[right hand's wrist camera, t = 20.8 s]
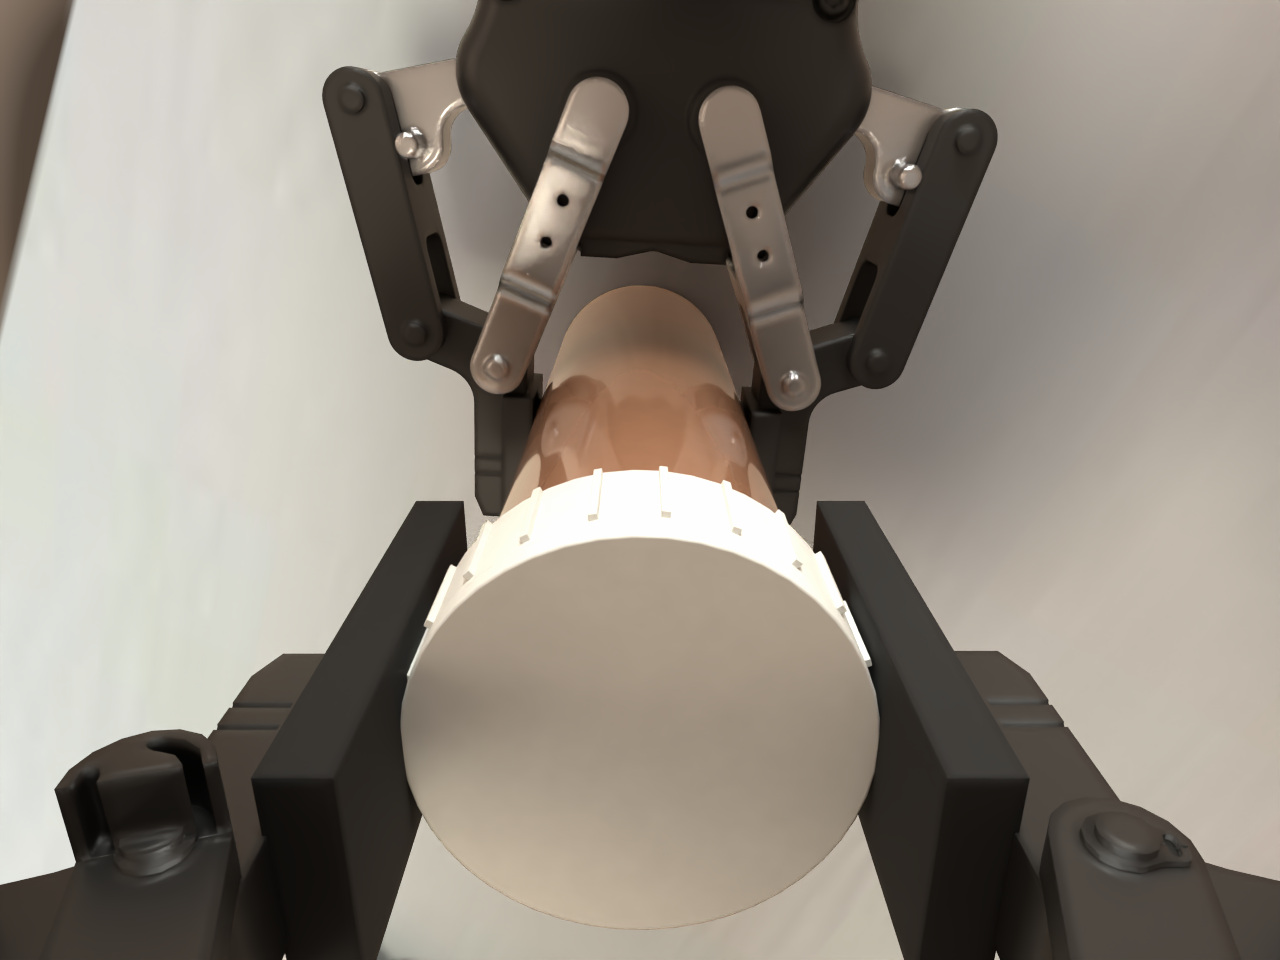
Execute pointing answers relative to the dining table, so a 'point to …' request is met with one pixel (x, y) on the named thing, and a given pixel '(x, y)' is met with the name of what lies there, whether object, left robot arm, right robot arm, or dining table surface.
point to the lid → (640, 704)
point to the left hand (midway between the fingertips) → (635, 531)
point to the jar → (640, 400)
